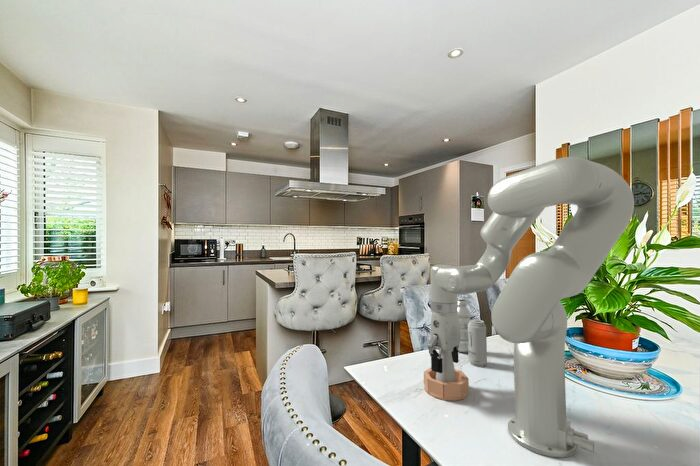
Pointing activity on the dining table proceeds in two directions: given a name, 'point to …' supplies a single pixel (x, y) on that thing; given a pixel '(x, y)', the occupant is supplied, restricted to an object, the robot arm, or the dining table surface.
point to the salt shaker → (447, 368)
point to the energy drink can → (477, 343)
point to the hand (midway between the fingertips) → (445, 366)
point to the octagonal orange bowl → (446, 386)
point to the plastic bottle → (463, 324)
